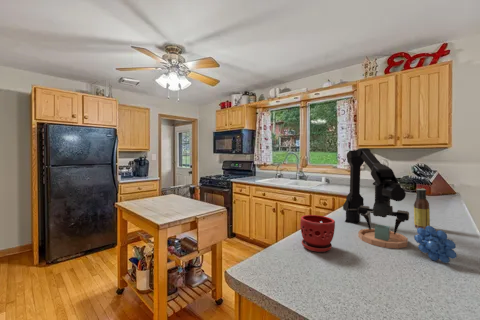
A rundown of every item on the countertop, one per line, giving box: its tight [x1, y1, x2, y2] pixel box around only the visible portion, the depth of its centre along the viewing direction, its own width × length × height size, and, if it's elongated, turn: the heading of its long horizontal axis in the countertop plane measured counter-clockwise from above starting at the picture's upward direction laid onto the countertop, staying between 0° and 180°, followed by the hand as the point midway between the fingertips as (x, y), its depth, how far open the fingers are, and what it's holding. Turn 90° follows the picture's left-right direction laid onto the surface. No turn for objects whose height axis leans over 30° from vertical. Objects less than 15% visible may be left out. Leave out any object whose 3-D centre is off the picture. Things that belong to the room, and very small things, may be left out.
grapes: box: [414, 225, 458, 264], centre depth 79 cm, size 12×7×12 cm, turn 37°
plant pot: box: [300, 214, 336, 253], centre depth 91 cm, size 13×13×12 cm
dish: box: [357, 228, 409, 249], centre depth 99 cm, size 18×18×2 cm
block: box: [374, 224, 391, 241], centre depth 99 cm, size 5×5×5 cm
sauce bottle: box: [413, 188, 431, 229], centre depth 115 cm, size 7×6×20 cm
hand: (382, 231), depth 99 cm, fingers open, 9 cm apart
